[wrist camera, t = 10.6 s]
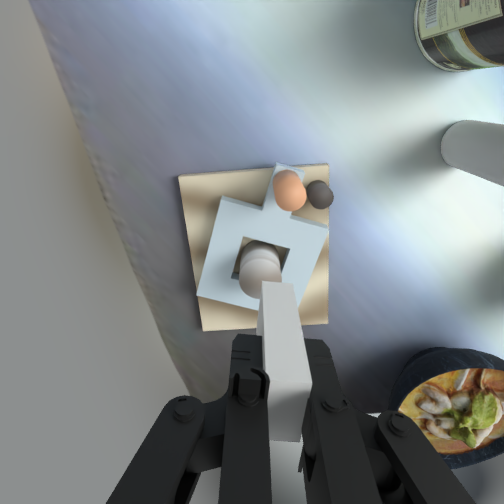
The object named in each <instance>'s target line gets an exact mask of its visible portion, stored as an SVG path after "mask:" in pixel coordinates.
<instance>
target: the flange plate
mask: <svg viewBox="0 0 504 504" xmlns="http://www.w3.org/2000/svg"><path fill="white" fill-rule="evenodd" d="M304 175H305V172H304V170H302V169H298V168H295V167H292V166H288V165H285V164H281V163H278V162H276V163H275V167H274V170H273V173H272V176H271V180H270V183H269V186H268V189H267V192H266V196H265V199H264V202H263V205H262V206H258V205H255V204H251V203H248V202H244V201H240V200H237V199H233V198H230V197H226V196H222V198H221V201H220V205H219V209H218V213H217V217H216V220H215V224H214V228H213V232H212V236H211V240H210V244H209V248H208V251H207V255H206V259H205V263H204V267H203V271H202V275H201V279H200V282H199V286H198V290H197V294H196V295H197V296H201V297H205V298H209V299H213V300H217V301H221V302H225V303H229V304H233V305H237V306H241V307H245V308H249V309H253V310H258V311H259V303H260V299H255V298H252V297H250V296H248V295H246V294H245V293H244V292H243V291H242V289H241V287H240V285H239V274H237V273H234V272H233V269H234V265H235V262H236V258H237V255H238V252H239V248H240V245H241V242H242V238H243V236H244V237H248V238H252V239H256V240H259V241H263V242H267V243H271V244H274V245H278V246H282V247H286V248H287V251H286V254H285V256H284V259H283V262H282V265H281V268H280V269H281V276H282V283H293V287H294V292H295V297H296V302H297V307H299V305H300V302H301V300H302V297H303V295H304V292H305V290H306V287H307V285H308V282H309V280H310V277H311V274H312V272H313V269H314V267H315V264H316V262H317V259H318V257H319V254H320V252H321V249H322V247H323V244H324V242H325V239H326V237H327V234H328V232H329V228H328V226H327V224H323V223H319V222H316V221H312V220H309V219H305V218H301V217H298V216H294V215H291V213H292V211H296V210H298V209H300V208H301V207H302V206H303V205H304V203H305V201H306V197H307V194H306V190H305V188H304V186H303V184H302V181H303V178H304Z"/></svg>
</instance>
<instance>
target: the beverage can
mask: <svg viewBox="0 0 504 504" xmlns="http://www.w3.org/2000/svg"><path fill="white" fill-rule="evenodd" d="M441 154H442V157H443V159H444V161H445V162H446V163H447V164H449V165H450V166H453V167H455V168H458V169H460V170H463V171H465V172H468V173H471V174H473V175H476V176H478V177H481V178H483V179H486V180H489V181H491V182H494V183H496V184H499V185H502V186H504V125H503V124H495V123H488V122H481V121H474V120H463V121H459V122H457V123H455V124H454V125H453V126H451V127H450V128H449V129H448V130H447V131H446V133H445V134H444V136H443V138H442V142H441Z"/></svg>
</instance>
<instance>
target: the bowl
mask: <svg viewBox="0 0 504 504" xmlns="http://www.w3.org/2000/svg"><path fill="white" fill-rule="evenodd" d="M388 411H397V412H400V413H403V414H405V415H406V416H408V417H409V418H411V419H412V420H413V421H414V422H415V423H416V424H417V425H418V427H419V428H420V429H421V431H422V432H423V433H424V435H425V436H426V437H427V439H428V440H429V441H430V443H431V444H432V445H433V447H434V448H435V449H436V451H437V452H438V453H439V455H440V456H441V457H442V459H443V460H444V461H445V463H446V464H447V465H448V467H449V468H450V469H457V468H461V467H466V466H469V465H473V464H476V463H479V462H482V461H485V460H488V459H491V458H493V457H496V456H498V455H500V454H502V453H504V360H502V359H500V358H498V357H496V356H494V355H491V354H488V353H484V352H480V351H476V350H473V349H458V348H445V347H435V348H430V349H427V350H424V351H422V352H420V353H418V354H416V355H415V356H413V357H412V358H411V359H410V360H409V361H408V363H407V364H406V366H405V368H404V371H403V372H402V373H401V375H400V376H399V378H398V379H397V381H396V383H395V385H394V387H393V389H392V392H391V395H390V400H389V408H388Z"/></svg>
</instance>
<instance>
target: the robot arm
mask: <svg viewBox="0 0 504 504" xmlns="http://www.w3.org/2000/svg"><path fill="white" fill-rule="evenodd" d="M301 434H302V437H303V449H302V453H301V457H300V462H299V468H298V472H301V471H302V467H303V474H304V482H305V490H306V499H307V504H476V503H475V502H474V500H473V499H472V498H471V496H470V495H469V494H468V492H467V491H466V490H465V488H464V487H463V486H462V484H461V483H460V482H459V480H458V479H457V478H456V476H455V475H454V474H453V472H452V471H451V470H450V468H449V467H448V465H447V464H446V463H445V461H444V460H443V459H442V457H441V456H440V455H439V453H438V452H437V451H436V449H435V448H434V447H433V445H432V444H431V443H430V441H429V440H428V439H427V437H426V436H425V435H424V433H423V432H422V431H421V429H420V428H419V427H418V425H417V424H416V423H415V422H414V421H413V420H412V419H411V418H409V417H408V416H406V415H405V414H403V413H400V412H397V411H388V410H387V411H385V412H382V413H381V414H380V415H379V416H378V418H377V417H374V416H371V415H368V414H365V413H362V412H360V411H358V410H356V409H355V408H353V406H352V404H351V403H350V401H349V400H348V399H347V398H346V397H345V396H344V395H343V394H342V391H341V387H340V384H339V380H338V377H337V373H336V370H335V367H334V363H333V360H332V356H331V353H330V349H329V347H328V346H327V345H326V344H325V343H324V342H323V340H317V339H305V338H303V333H302V328H301V323H300V317H299V312H298V307H297V302H296V297H295V292H294V287H293V283H281V282H270V281H262V287H261V295H260V303H259V311H258V319H257V335H248V334H238V335H237V336H236V337H235V339H234V340H233V342H232V353H231V364H230V375H229V386H228V390H227V392H226V393H225V395H223V396H222V397H221V398H220V399H218V400H216V401H213V402H209V403H204V404H203V403H202V402H201V401H200V400H199V399H197V398H195V397H193V396H185V395H184V396H179V397H176V398H174V399H172V400H170V401H169V402H168V403H167V404H166V405H165V406H164V408H163V410H162V411H161V413H160V415H159V416H158V418H157V420H156V421H155V423H154V425H153V426H152V428H151V430H150V431H149V433H148V435H147V436H146V438H145V439H144V441H143V443H142V445H141V446H140V448H139V449H138V451H137V453H136V454H135V456H134V458H133V459H132V461H131V463H130V464H129V466H128V468H127V470H126V471H125V473H124V474H123V476H122V478H121V479H120V481H119V483H118V484H117V486H116V487H115V490H114V491H113V492H112V494H111V496H110V497H109V499H108V501H107V502H106V504H189V502H190V500H191V497H192V495H193V492H194V490H195V487H196V485H197V482H198V480H199V477H200V475H201V472H203V471H207V470H210V469H214V468H218V467H221V478H220V488H219V489H220V490H219V500H218V504H272V493H271V470H270V447H269V440H274V441H288V442H300V438H301Z"/></svg>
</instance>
